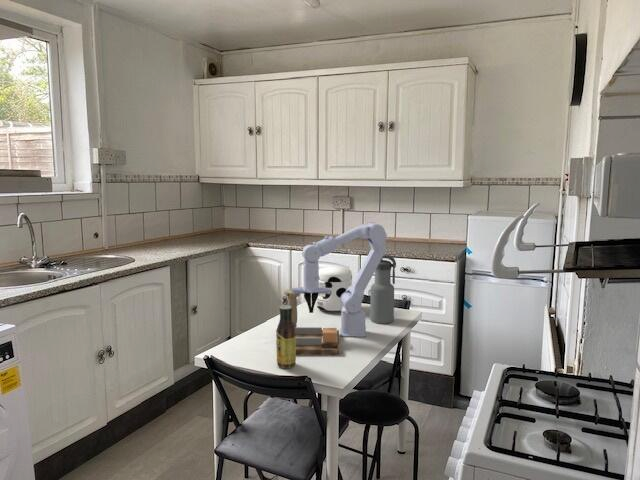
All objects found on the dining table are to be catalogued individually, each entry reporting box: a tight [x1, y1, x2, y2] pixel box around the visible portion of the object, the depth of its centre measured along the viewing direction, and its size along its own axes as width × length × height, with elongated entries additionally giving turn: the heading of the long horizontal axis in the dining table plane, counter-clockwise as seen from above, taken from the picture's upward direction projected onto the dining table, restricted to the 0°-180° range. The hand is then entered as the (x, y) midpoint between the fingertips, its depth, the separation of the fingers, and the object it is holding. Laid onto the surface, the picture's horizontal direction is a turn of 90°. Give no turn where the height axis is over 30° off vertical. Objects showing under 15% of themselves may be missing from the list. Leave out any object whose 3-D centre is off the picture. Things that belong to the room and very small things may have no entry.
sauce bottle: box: [275, 304, 297, 369], centre depth 154 cm, size 7×6×20 cm
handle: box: [283, 289, 301, 327], centre depth 191 cm, size 5×6×15 cm
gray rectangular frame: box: [295, 326, 323, 345], centre depth 174 cm, size 14×12×2 cm
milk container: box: [315, 266, 353, 313], centre depth 216 cm, size 17×17×18 cm
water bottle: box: [369, 253, 397, 325], centre depth 199 cm, size 10×10×28 cm
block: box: [322, 327, 338, 342], centre depth 173 cm, size 5×5×4 cm
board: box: [296, 329, 341, 356], centre depth 174 cm, size 20×20×2 cm
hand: (311, 312), depth 182 cm, fingers closed
